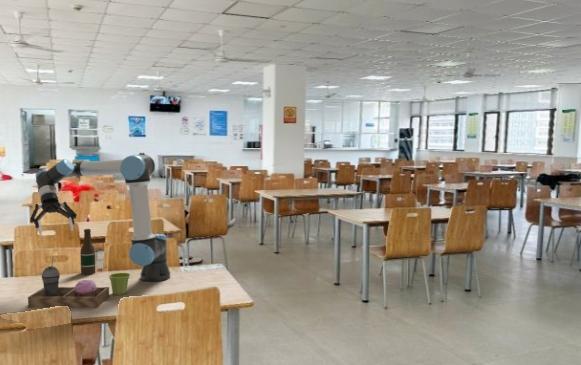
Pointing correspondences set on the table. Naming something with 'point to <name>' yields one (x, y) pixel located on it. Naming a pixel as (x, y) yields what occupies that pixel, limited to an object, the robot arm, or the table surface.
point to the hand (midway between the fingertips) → (56, 231)
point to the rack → (68, 298)
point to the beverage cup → (51, 281)
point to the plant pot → (119, 282)
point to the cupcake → (85, 288)
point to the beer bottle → (87, 254)
